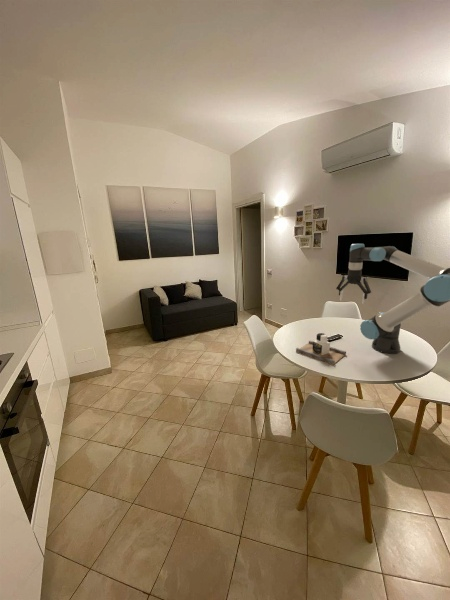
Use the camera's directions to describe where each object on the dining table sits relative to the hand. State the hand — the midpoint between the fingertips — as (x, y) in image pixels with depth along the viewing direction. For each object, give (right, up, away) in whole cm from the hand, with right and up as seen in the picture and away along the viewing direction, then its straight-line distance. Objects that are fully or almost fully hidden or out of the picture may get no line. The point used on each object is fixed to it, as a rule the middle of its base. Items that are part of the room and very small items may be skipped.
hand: (351, 302), depth 156 cm
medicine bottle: (-22, -31, -5) cm, 39 cm away
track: (-22, -32, -5) cm, 39 cm away
